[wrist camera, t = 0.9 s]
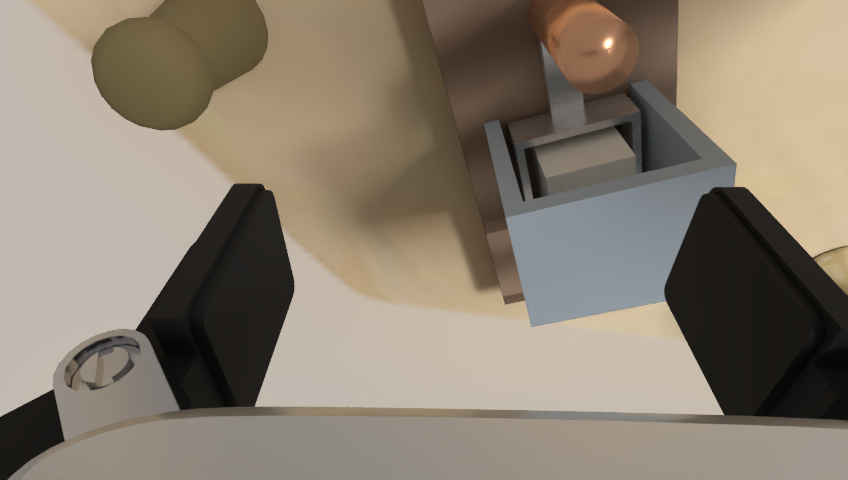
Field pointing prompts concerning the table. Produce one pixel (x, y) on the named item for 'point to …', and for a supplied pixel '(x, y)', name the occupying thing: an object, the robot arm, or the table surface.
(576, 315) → the tunnel
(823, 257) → the hand bell
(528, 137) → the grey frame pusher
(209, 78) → the cork
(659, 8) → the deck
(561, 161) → the cream block
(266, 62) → the table surface
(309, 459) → the robot arm
